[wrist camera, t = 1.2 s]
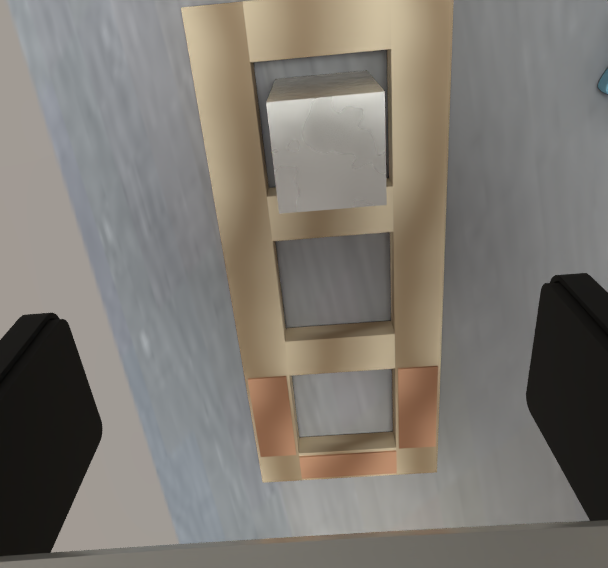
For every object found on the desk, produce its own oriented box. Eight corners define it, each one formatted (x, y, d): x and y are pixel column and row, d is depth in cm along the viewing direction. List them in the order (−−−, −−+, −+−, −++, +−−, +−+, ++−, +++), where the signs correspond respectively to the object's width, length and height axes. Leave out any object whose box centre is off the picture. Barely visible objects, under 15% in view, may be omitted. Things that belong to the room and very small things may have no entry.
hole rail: (446, -19, 25) (454, -20, 23) (432, 455, 38) (437, 473, 37) (187, 7, 25) (180, 7, 24) (264, 466, 39) (262, 483, 38)
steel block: (366, 70, 27) (384, 91, 20) (369, 160, 29) (386, 205, 22) (275, 78, 27) (266, 102, 21) (285, 167, 29) (278, 213, 23)
